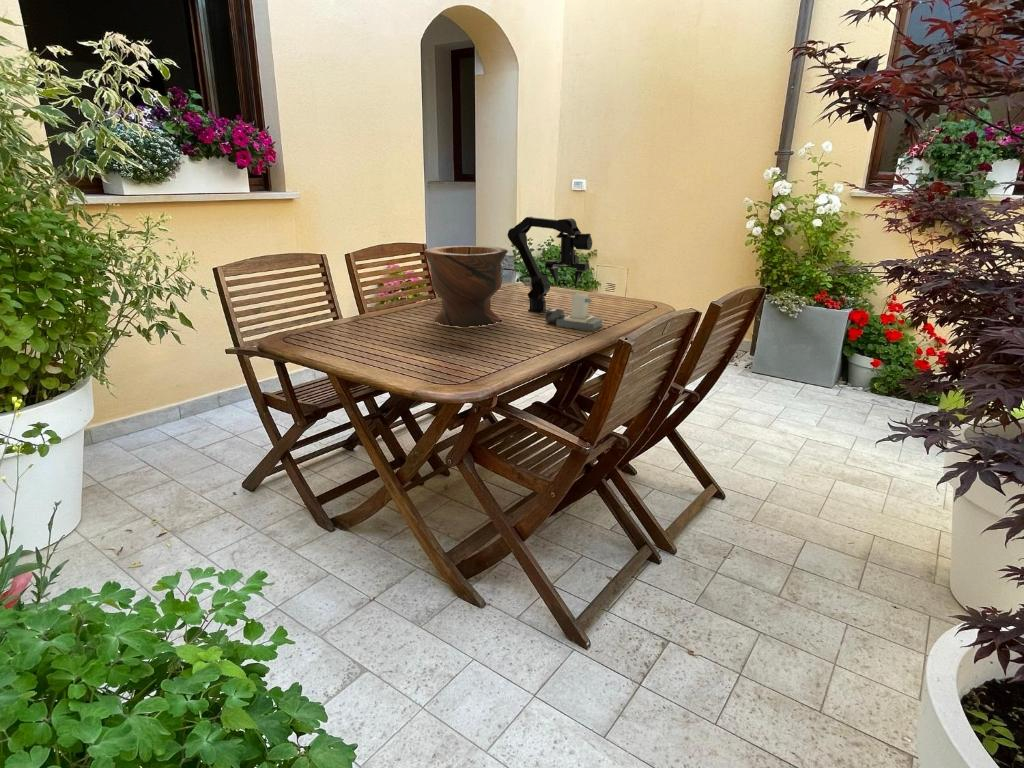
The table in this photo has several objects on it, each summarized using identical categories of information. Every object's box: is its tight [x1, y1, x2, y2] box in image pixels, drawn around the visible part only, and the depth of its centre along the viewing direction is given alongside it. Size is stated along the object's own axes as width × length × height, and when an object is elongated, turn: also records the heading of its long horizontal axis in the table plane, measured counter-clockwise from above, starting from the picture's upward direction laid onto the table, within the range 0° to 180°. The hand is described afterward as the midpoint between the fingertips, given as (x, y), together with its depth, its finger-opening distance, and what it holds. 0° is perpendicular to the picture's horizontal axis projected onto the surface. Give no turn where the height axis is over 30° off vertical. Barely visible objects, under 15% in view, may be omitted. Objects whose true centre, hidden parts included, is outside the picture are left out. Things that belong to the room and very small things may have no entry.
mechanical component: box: [521, 277, 532, 291], centre depth 303 cm, size 3×10×10 cm, turn 89°
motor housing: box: [544, 308, 603, 332], centre depth 250 cm, size 22×10×6 cm, turn 62°
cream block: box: [571, 293, 592, 320], centre depth 247 cm, size 7×5×10 cm
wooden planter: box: [423, 245, 508, 327], centre depth 255 cm, size 34×35×29 cm
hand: (566, 285), depth 267 cm, fingers open, 9 cm apart
